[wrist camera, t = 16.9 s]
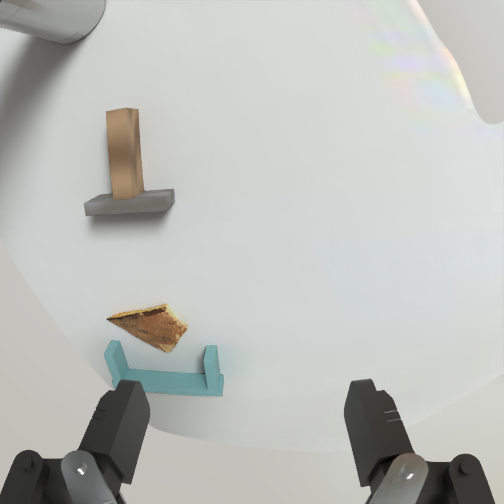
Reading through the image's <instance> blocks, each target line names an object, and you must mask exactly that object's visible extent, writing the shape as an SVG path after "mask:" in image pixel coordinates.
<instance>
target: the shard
mask: <svg viewBox="0 0 504 504" xmlns="http://www.w3.org/2000/svg"><path fill="white" fill-rule="evenodd" d="M107 320H109V321H111V322H113V323H114V324H116V325H117V326H119V327H122V328H123V329H125V330H127V331H128V332H129V333H131V334H132V335H134V336H136V337H138V338H140V339H141V340H143V341H144V342H146V343H149V344H150V345H152V346H154V347H156V348H159V349H161V350H163V351H165V352H171V351H172V349H173V348H174V347H175V346H176V344H177V342H178V340H179V339H180V337H181V336H182V334H183V333H185V331H186V330H187V328H188V325H186V324H184V323H182V322H181V321H180V320H179V319H178V318H177V317H176V316H175V315H174V314H173V312H172V311H171V309H170V308H169V306H168V305H167V304H163V305H161V306H158V307H154V308H149V309H146V310H137V311H129V312H123V313H119V314H117V315H114V316H112V317H109V318H107Z"/></svg>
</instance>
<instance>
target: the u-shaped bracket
mask: <svg viewBox="0 0 504 504" xmlns="http://www.w3.org/2000/svg"><path fill="white" fill-rule="evenodd" d="M104 356H105V359H106V362H107V364H108V367H109V369H110V372H111V375H112V377H113V380H112V383H113V386H114V388H116V387H117V385H118V383H119V381H120V380H121V379H126V380H135V381H140V382H141V384H142V387H143V389H144V392H154V393H166V394H179V395H197V396H222V393H223V383H224V378H223V374H220V371H219V363H218V354H217V346H206V351H205V356H204V368H205V374H195V373H174V372H159V371H146V370H135V369H129V368H128V365H127V362H126V359H125V356H124V353H123V350H122V347H121V344H120V341H111V342H110V344H109V346H108V348H107V350H106V351H105V353H104Z"/></svg>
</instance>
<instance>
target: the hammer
mask: <svg viewBox="0 0 504 504" xmlns="http://www.w3.org/2000/svg"><path fill="white" fill-rule="evenodd" d="M106 122H107V138H108V151H109V163H110V173H111V182H112V191H113V193H112V194H102V195H99V196H97V197H95V198H93V199H91V200H89V201H88V202H86V203H84V208H85V214H86V216H93V215H107V214H122V213H139V212H157V211H166V210H167V209H168V208H169V207H170V206H171V205H172V204H173V203H174V202H175V194H174V189H164V190H149V191H144V184H143V173H142V162H141V148H140V133H139V113H138V109H131V108H123V109H117V110H111V111H106Z"/></svg>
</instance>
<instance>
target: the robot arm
mask: <svg viewBox="0 0 504 504" xmlns="http://www.w3.org/2000/svg"><path fill="white" fill-rule="evenodd" d="M105 3H106V0H0V28H3V29H8V30H12V31H16V32H20V33H24V34H28V35H32V36H36V37H39V38H43V39H46V40H50V41H52V42H57V43H61V44H69V43H73V42H75V41H78V40H80V39H81V38H83V37H84V36H86V35H87V34H88V33H89V32H90V31H91V30H92V29H93V28H94V27H95V26H96V25H97V23H98V22H99V20H100V19H101V16H102V14H103V12H104V9H105ZM149 418H150V407H149V403H148V401H147V398H146V395H145V392H144V389H143V387H142V384H141V382H140V381H135V380H126V379H121V380H120V381H119V383H118V385H117V387H116V390H115V391H111V390H109V391H108V392H107V393H106V394H105V395H104V396H103V397H102V398H100V401H99V403H98V405H97V407H96V411H95V412H94V414H93V416H92V419H91V421H90V423H89V425H88V427H87V430H86V432H85V434H84V437H83V439H82V441H81V444H80V446H79V448H78V449H77V450H76V451H72V452H70V453H68V454H67V455H66V456H65V457H64V458H62V459H43V458H42V457H41V456H40V455H39V454H38V453H37V452H35V451H32V450H25V451H22V452H20V453H19V454H18V455H17V456H16V457H15V459H14V461H13V464H12V466H11V468H10V471H9V473H8V476H7V479H6V481H5V483H4V486H3V488H2V491H1V494H0V504H127V503H126V501H125V499H124V497H123V495H122V493H121V492H120V487H121V483H126V484H131V482H132V479H133V475H134V471H135V468H136V464H137V460H138V457H139V453H140V450H141V446H142V443H143V439H144V436H145V432H146V429H147V425H148V422H149ZM344 418H345V423H346V427H347V431H348V435H349V439H350V443H351V447H352V451H353V455H354V459H355V463H356V468H357V472H358V477H359V481H360V485H361V487H365V486H370V489H371V494H370V496H369V497H368V499H367V501H366V503H365V504H495V502H494V499H493V496H492V493H491V490H490V487H489V485H488V482H487V479H486V476H485V474H484V471H483V469H482V466H481V464H480V462H479V460H478V459H477V458H476V457H475V456H473V455H470V454H461V455H458V456H456V457H455V458H454V459H453V460H452V461H451V462H429V461H425V460H424V459H423V458H422V457H421V456H419V455H417V454H415V452H414V450H413V448H412V446H411V443H410V440H409V438H408V435H407V433H406V430H405V428H404V425H403V422H402V420H401V419H400V418H401V417H400V415H399V413H398V412H397V408H396V405H395V403H394V400H393V398H392V397H391V396H390V395H389V394H387V393H386V392H385V391H384V390H382V391H376V388H375V385H374V383H373V381H372V380H371V379H365V380H356V381H352V382H351V384H350V387H349V391H348V395H347V399H346V402H345V406H344Z"/></svg>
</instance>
